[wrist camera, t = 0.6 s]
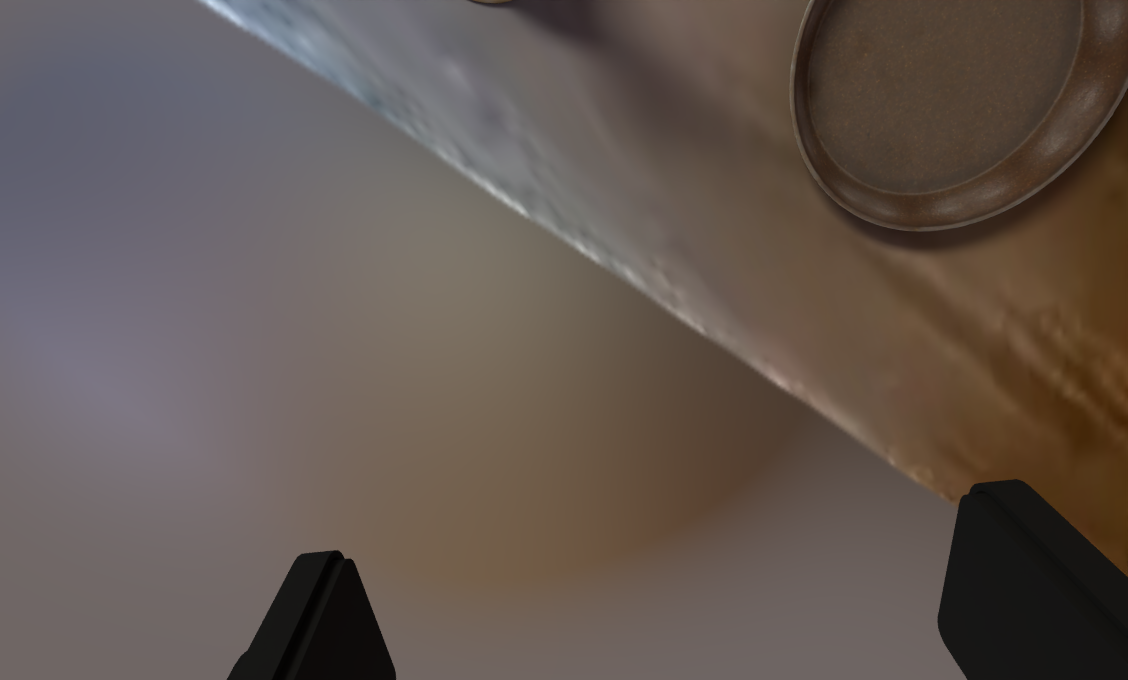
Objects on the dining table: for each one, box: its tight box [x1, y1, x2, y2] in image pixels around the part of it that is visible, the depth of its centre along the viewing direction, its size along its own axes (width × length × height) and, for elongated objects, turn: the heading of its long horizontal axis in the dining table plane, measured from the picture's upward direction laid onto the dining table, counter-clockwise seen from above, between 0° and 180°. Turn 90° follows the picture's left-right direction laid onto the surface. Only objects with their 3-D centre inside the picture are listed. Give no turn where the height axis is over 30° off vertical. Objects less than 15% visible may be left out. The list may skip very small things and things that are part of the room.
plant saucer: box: [789, 0, 1128, 232], centre depth 32 cm, size 18×18×3 cm
